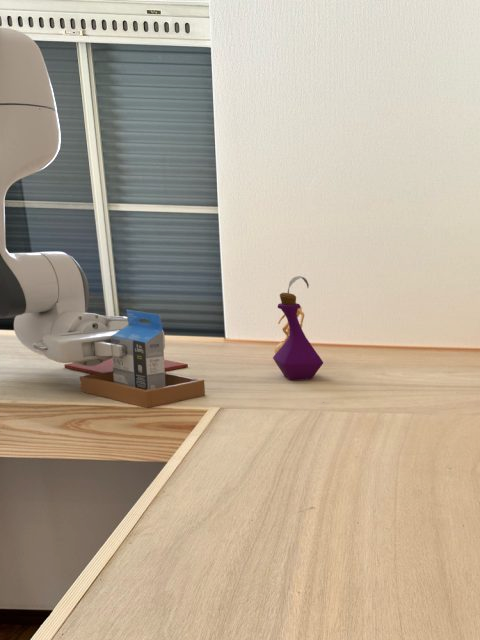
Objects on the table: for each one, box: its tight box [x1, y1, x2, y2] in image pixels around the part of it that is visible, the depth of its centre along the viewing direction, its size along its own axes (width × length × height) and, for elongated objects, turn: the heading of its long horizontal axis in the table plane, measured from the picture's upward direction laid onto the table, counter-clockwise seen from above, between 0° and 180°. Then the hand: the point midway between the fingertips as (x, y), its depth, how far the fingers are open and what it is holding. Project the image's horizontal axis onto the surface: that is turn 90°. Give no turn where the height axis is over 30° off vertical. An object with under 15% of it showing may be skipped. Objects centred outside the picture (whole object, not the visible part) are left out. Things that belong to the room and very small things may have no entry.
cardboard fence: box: [79, 371, 206, 409], centre depth 119 cm, size 12×17×2 cm
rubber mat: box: [64, 359, 189, 375], centre depth 139 cm, size 16×16×1 cm
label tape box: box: [111, 309, 166, 390], centre depth 117 cm, size 9×4×12 cm, turn 55°
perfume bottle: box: [272, 275, 324, 381], centre depth 132 cm, size 8×8×18 cm
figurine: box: [274, 305, 305, 355], centre depth 148 cm, size 8×6×12 cm
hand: (137, 349), depth 117 cm, fingers closed on label tape box, 4 cm apart
